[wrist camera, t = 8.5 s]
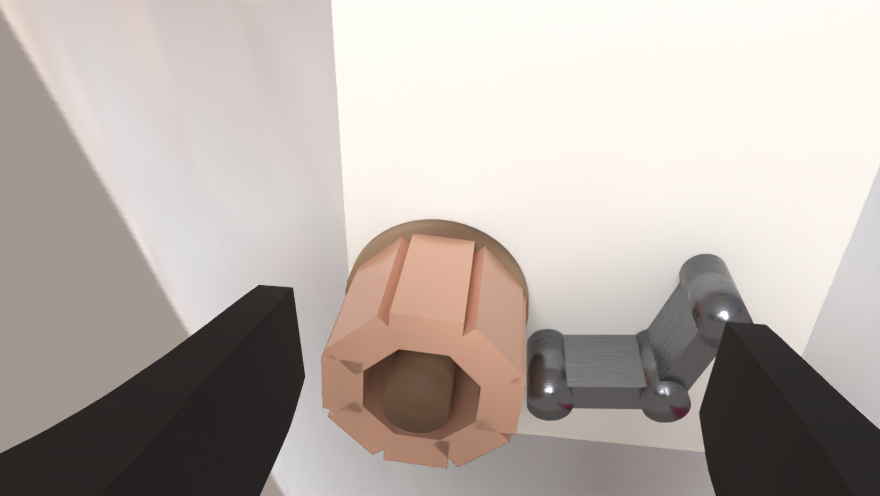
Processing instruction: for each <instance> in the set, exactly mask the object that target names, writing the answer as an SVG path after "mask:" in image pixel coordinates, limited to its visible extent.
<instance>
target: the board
mask: <svg viewBox="0 0 880 496" xmlns="http://www.w3.org/2000/svg"><path fill="white" fill-rule="evenodd" d="M331 4H332V19H333V35H334V51H335V67H336V82H337V98H338V114H339V129H340V145H341V161H342V177H343V192H344V208H345V224H346V240H347V255H348V271H349V275H350V273H351V270H352V268H353V265H354V263H355V261H356V259H357V257H358V256H359V254H360V252H361V251H362V250H363V249H364V247H365V246H366V245H367V244H368V243H369V242H370V241H371V240H372V239H373V238H375V237H376V236H377V235H379V234H380V233H382V232H383V231H385V230H387V229H389V228H391V227H394V226H396V225H399V224H402V223H406V222H410V221H414V220H424V219H441V220H448V221H454V222H458V223H462V224H466V225H468V226H471V227H474V228H476V229H478V230H480V231H482V232H484V233H486V234H488V235H489V236H491V237H492V238H494V239H495V240H497V241H498V242H499V243H500V244H501V245H503V246H504V247H505V248H506V249H507V250H508V251H509V252H510V254H511V255H512V256H513V257H514V258H515V260H516V261H517V263H518V264H519V266H520V268H521V270H522V272H523V274H524V277H525V280H526V283H527V288H528V295H529V309H528V320H527V325H526V383H525V390H524V395H523V400H522V405H521V411H520V416H519V421H518V426H517V431H516V433H518V434H527V435H537V436H547V437H557V438H567V439H577V440H586V441H596V442H606V443H616V444H626V445H636V446H645V447H655V448H665V449H675V450H685V451H695V452H704V453H705V449H704V443H703V437H702V430H701V424H700V417H699V411H700V407H701V404H702V401H703V397H704V394H705V391H706V387H707V384H708V381H709V377H710V374H711V371H712V368H713V364H714V361H715V358H716V357H715V358H714V359H713V361H712V362H711V363H710V364H709V366H708V367H707V368H706V369H705V371H704V372H703V373H702V374H701V376H700V377H699V378H698V379H697V381H696V382H695V383H694V384H693V386H692V387H691V388H690V389H689V391H688V394H689V397H690V401H691V408H690V411H689V412H688V414H687V415H686V416H685V417H683V418H682V419H680V420H677V421H674V422H669V423H661V422H656V421H653V420H651V419H649V418H648V417H647V416H646V415H645V414H644V412H643V410H642V409H585V408H573V409H572V411H571V412H570V414H569V415H567V416H566V417H564V418H562V419H560V420H555V421H546V420H541V419H539V418H536V417H535V416H533V415H532V414H531V413H530V412H529V410H528V408H527V341H528V339H529V337H530V336H531V335H532V334H533V333H534V332H536V331H539V330H542V329H553V330H556V331H559V332H560V333H562V334H563V335H636V334H637V333H638V332H640V331H643V330H646V329H648V327H649V326H650V324H651V323H652V321H653V320H654V319H655V317H656V316H657V314H658V313H659V311H660V310H661V309H662V307H663V306H664V304H665V303H666V301H667V300H668V299H669V297H670V296H671V294H672V293H673V291H674V290H675V289H676V287H677V286H678V284H679V283H680V277H679V273H680V269H681V267H682V265H683V264H684V263H685V262H686V261H687V260H688V259H690V258H691V257H693V256H696V255H699V254H713V255H716V256H718V257H720V258H721V259H722V260H723V261H724V262H725V264H726V266H727V268H728V270H729V272H730V274H731V276H732V278H733V281H734V283H735V285H736V287H737V289H738V291H739V293H740V295H741V297H742V299H743V302H744V304H745V306H746V308H747V310H748V312H749V314H750V316H751V318H752V321H753V323H754V324H766V325H767V326H768V327H769V328H771V329H772V330H773V331H774V332H775V333H776V334H777V335H778V336H779V337H781V338H782V339H783V340H784V341H785V342H786V343H787V344H788V345H789V346H790V347H791V348H792V349H793V350H794V351H795V352H796V353H798V354H799V355H800V356H801V357H802V355H803V352H804V350H805V347H806V345H807V342H808V340H809V337H810V335H811V333H812V330H813V328H814V325H815V323H816V320H817V318H818V315H819V313H820V311H821V308H822V306H823V303H824V301H825V298H826V296H827V294H828V291H829V289H830V286H831V284H832V281H833V279H834V276H835V274H836V272H837V269H838V267H839V264H840V262H841V259H842V257H843V254H844V252H845V250H846V247H847V245H848V242H849V240H850V237H851V235H852V232H853V230H854V228H855V225H856V223H857V220H858V218H859V215H860V213H861V210H862V208H863V206H864V203H865V201H866V198H867V196H868V193H869V191H870V188H871V186H872V184H873V181H874V179H875V176H876V174H877V171H878V169H879V166H880V0H331Z"/></svg>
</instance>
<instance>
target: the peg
mask: <svg viewBox="0 0 880 496" xmlns="http://www.w3.org/2000/svg"><path fill="white" fill-rule="evenodd" d="M413 234H421V235H429V236H437V237H445V238H454V239H462V240H470V241H475V246H474V253H475V252H477V251H479V250H480V249H482V248H483V247H486V248H487V249H488V250H489V251H490V252H491V253H492V254H493V255H494V256H495V257H496V259H497V260H498V261H499V262H500V263H501V264H502V265H503V266H504V267H505V268H506V270H507V271H508V272H509V273H510V274H511V275H512V276H513V277H514V278H515V279H516V280H517V282H518V283H519V284H520V285H521V286H522V287H523V296H526V325H527V320H528V309H529V295H528V288H527V283H526V280H525V277H524V274H523V272H522V270H521V268H520V266H519V264H518V263H517V261H516V260H515V258H514V257H513V256H512V255H511V254H510V252H509V251H508V250H507V249H506V248H505V247H504V246H503V245H501V244H500V243H499V242H498V241H497V240H495V239H494V238H492V237H491V236H489V235H488V234H486V233H484V232H482V231H480V230H478V229H476V228H474V227H471V226H468V225H466V224H462V223H458V222H454V221H448V220H441V219H424V220H414V221H410V222H406V223H402V224H399V225H396V226H394V227H391V228H389V229H387V230H385V231H383V232H382V233H380V234H379V235H377V236H376V237H375V238H373V239H372V240H371V241H370V242H369V243H368V244H367V245H366V246H365V247H364V249H363V250H362V251H361V252H360V254H359V256H358V257H357V259H356V261H355V263H354V265H353V268H352V270H351V273H350V275H349V278H348V281H347V286H346V295H347V293H348V290H349V288H350V285H351V283H352V280H353V278H354V275H356V273H357V270H358V268H359V267H360V266H361V265H362V264H364V263H365V262H367V261H368V260H369V259H371V258H372V257H374V256H375V255H376V254H378V253H379V252H381V251H382V250H383V249H385V248H386V247H388V246H389V245H390V244H392V243H393V242H395V241H396V240H397V239H399V238H400V237H402V236H403V237H404V238H405V239H406V240H407V241H408V242H409V243H410V242H411V239H412V235H413ZM455 367H456V362H455V361H454V360H453V359H452V358H451V357H450V356H447V355H439V354H432V353H424V352H417V351H409V350H402V349H398V350H397V351H396V354H395V358H394V361H393V365H392V369H391V373H390V377H389V381H388V384H387V388H386V392H385V396H384V400H383V411H384V414H385V416H386V417H387V419H388V420H389V421H390V422H391V423H392V424H394V425H395V426H396V427H398V428H400V429H402V430H405V431H408V432H413V433H428V432H432V431H435V430H437V429H439V428H440V427H442V426H443V425H444V424H445V423H446V421H447V419H448V417H449V410H450V403H451V396H452V389H453V382H454V374H455Z"/></svg>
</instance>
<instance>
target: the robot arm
mask: <svg viewBox="0 0 880 496" xmlns="http://www.w3.org/2000/svg"><path fill="white" fill-rule="evenodd" d="M304 379H305V372H304V365H303V357H302V350H301V343H300V335H299V328H298V321H297V314H296V306H295V299H294V292H293V288H291V287H278V286H265V285H258V286H257V287H255V288H254V289H253V290H251V291H250V292H248V293H247V294H246V295H244V296H243V297H242V298H240V299H239V300H238V301H236V302H235V303H234V304H232V305H231V306H230V307H228V308H227V309H226V310H225V311H223V312H222V313H221V314H219V315H218V316H217V317H215V318H214V319H213V320H212V321H210V322H209V323H208V324H206V325H205V326H204V327H202V328H201V329H200V330H198V331H197V332H196V333H194V334H193V335H192V336H190V337H189V338H188V339H186V340H185V341H184V342H182V343H181V344H180V345H178V346H177V347H176V348H174V349H173V350H171V351H170V352H169V353H167V354H166V355H164V356H163V357H162V358H160V359H159V360H157V361H156V362H154V363H153V364H151V365H150V366H148V367H147V368H146V369H144V370H142V371H141V372H140V373H138V374H137V375H135V376H134V377H132V378H131V379H129V380H128V381H126V382H125V383H123V384H122V385H120V386H119V387H117V388H116V389H115V390H113V391H112V392H110V393H108V394H107V395H105V396H103V397H102V398H100V399H99V400H97V401H96V402H94V403H92V404H90V405H89V406H87V407H86V408H84V409H82V410H80V411H79V412H77V413H75V414H73V415H72V416H70V417H68V418H66V419H65V420H63V421H61V422H60V423H58V424H56V425H54V426H52V427H51V428H49V429H47V430H46V431H43V432H42V433H40V434H38V435H36V436H34V437H32V438H31V439H28V440H26V441H24V442H22V443H20V444H18V445H16V446H14V447H12V448H10V449H9V450H7V451H4V452H3V453H0V496H260V494H261V492H262V489H263V487H264V485H265V483H266V481H267V478H268V476H269V474H270V472H271V470H272V467H273V465H274V463H275V461H276V458H277V456H278V454H279V452H280V449H281V447H282V445H283V443H284V440H285V438H286V436H287V433H288V431H289V429H290V426H291V423H292V419H293V416H294V413H295V410H296V407H297V403H298V400H299V396H300V393H301V389H302V386H303V383H304ZM699 417H700V424H701V430H702V437H703V443H704V449H705V454H706V460H707V465H708V471H709V474H710V478H711V481H712V484H713V488H714V491H715V494H716V496H880V429H878V428H877V427H876V426H875V425H874V424H873V423H872V422H870V421H869V420H868V419H867V418H866V417H865V416H864V415H863V414H862V413H860V412H859V411H858V410H857V409H856V408H855V407H854V406H853V405H852V404H851V403H849V402H848V401H847V400H846V399H845V398H844V397H843V396H842V395H841V394H840V393H839V392H838V391H837V390H835V389H834V388H833V387H832V386H831V385H830V384H829V383H828V382H827V381H826V380H825V379H824V378H823V377H822V376H821V375H820V374H819V373H817V372H816V371H815V370H814V369H813V368H812V367H811V366H810V365H809V364H808V363H807V362H806V361H805V360H804V359H803V358H802V357H801V356H800V355H799V354H798V353H796V352H795V351H794V350H793V349H792V348H791V347H790V346H789V345H788V344H787V343H786V342H785V341H784V340H783V339H782V338H781V337H779V336H778V335H777V334H776V333H775V332H774V331H773V330H772V329H771V328H769V327H768V326H767V325H766V324H753V323H740V322H727V321H726V324H725V328H724V331H723V334H722V338H721V341H720V344H719V348H718V351H717V354H716V358H715V361H714V364H713V368H712V371H711V374H710V377H709V381H708V384H707V387H706V391H705V394H704V397H703V401H702V404H701V407H700V411H699Z"/></svg>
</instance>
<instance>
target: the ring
mask: <svg viewBox="0 0 880 496" xmlns="http://www.w3.org/2000/svg"><path fill="white" fill-rule="evenodd" d="M474 246H475V241H470V240H462V239H454V238H445V237H437V236H429V235H421V234H413V235H412V239H411V242H410V243H409V242H408V241H407V240H406V239H405V238H404V237H403V236H402V237H400V238H399V239H397V240H396V241H395V242H393V243H392V244H390V245H389V246H388V247H386V248H385V249H383V250H382V251H381V252H379V253H378V254H376V255H375V256H374V257H372V258H371V259H369V260H368V261H367V262H365V263H364V264H362V265H361V266H360V267H359V268H358V270H357V273H356V275H354V278H353V280H352V283H351V285H350V288H349V290H348V293H347V295H346V298H345V300H344V303H343V305H342V307H341V310H340V312H339V315H338V317H337V320H336V322H335V325H334V327H333V330H332V332H331V335H330V337H329V340H328V342H327V345H326V347H325V350H324V352H323V354H322V357H321V364H322V396H323V408H327V409H330V411H329V414H328V417H329V418H330V419H331V420H332V421H333V422H335V423H336V424H337V425H338V426H339V427H341V428H342V429H343V430H344V431H345V432H346V433H348V434H349V435H350V436H351V437H352V438H354V439H355V440H356V441H357V442H358V443H359V444H361V445H362V446H363V447H364V448H365V449H367V450H368V451H369V452H370V453H371V454H372V455H374V454H376V453H377V452H379V451H381V450H383V449H384V460H391V461H398V462H405V463H411V464H418V465H425V466H432V467H439V468H446V469H447V464H448V458H449V459H450V460H451V461H452V462H453V463H454V464H455V465H456V466H457V467H459V466H461V465H463V464H466V463H468V462H470V461H472V460H474V459H476V458H478V457H480V456H482V455H484V454H486V453H488V452H490V451H492V450H494V449H496V448H498V447H500V446H502V445H505V444H507V443H509V442H510V434H514V435H516V431H517V426H518V421H519V416H520V411H521V405H522V400H523V395H524V390H525V383H526V296H523V287H522V286H521V285H520V284H519V283H518V282H517V280H516V279H515V278H514V277H513V276H512V275H511V274H510V273H509V272H508V271H507V270H506V268H505V267H504V266H503V265H502V264H501V263H500V262H499V261H498V260H497V259H496V257H495V256H494V255H493V254H492V253H491V252H490V251H489V250H488V249H487V248H486V247H483V248H482V249H480V250H479V251H477V252H475V253H474ZM398 349H402V350H409V351H417V352H424V353H432V354H439V355H447V356H450V357H451V358H452V359H453V360H454V361H455V362H456V367H455V374H454V382H453V389H452V396H451V403H450V410H449V417H448V419H447V421H446V423H445V424H444V425H443V426H442V427H440V428H439V429H437V430H435V431H432V432H428V433H413V432H408V431H405V430H402V429H400V428H398V427H396V426H395V425H394V424H392V423H391V422H390V421H389V420H388V419H387V417H386V416H385V414H384V411H383V400H384V396H385V392H386V388H387V384H388V381H389V377H390V373H391V369H392V365H393V361H394V358H395V354H396V351H397V350H398Z"/></svg>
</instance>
